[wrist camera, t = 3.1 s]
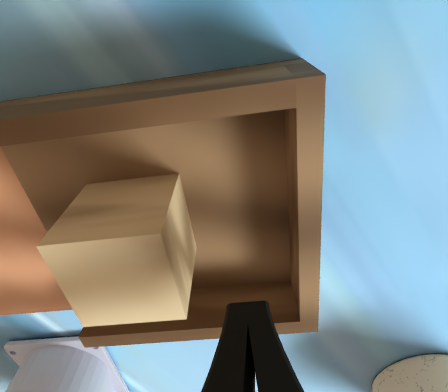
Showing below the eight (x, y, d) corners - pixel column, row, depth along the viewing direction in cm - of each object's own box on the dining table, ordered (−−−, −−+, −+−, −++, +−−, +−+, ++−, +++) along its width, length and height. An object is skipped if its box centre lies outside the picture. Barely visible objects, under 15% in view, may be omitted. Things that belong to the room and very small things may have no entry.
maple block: (196, 247, 18) (186, 319, 14) (116, 255, 19) (83, 326, 15) (179, 173, 16) (160, 233, 12) (86, 184, 16) (36, 246, 12)
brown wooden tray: (303, 279, 21) (317, 331, 18) (-9, 305, 23) (-51, 357, 20) (302, 58, 14) (325, 74, 11) (-151, 123, 16) (-255, 155, 12)
